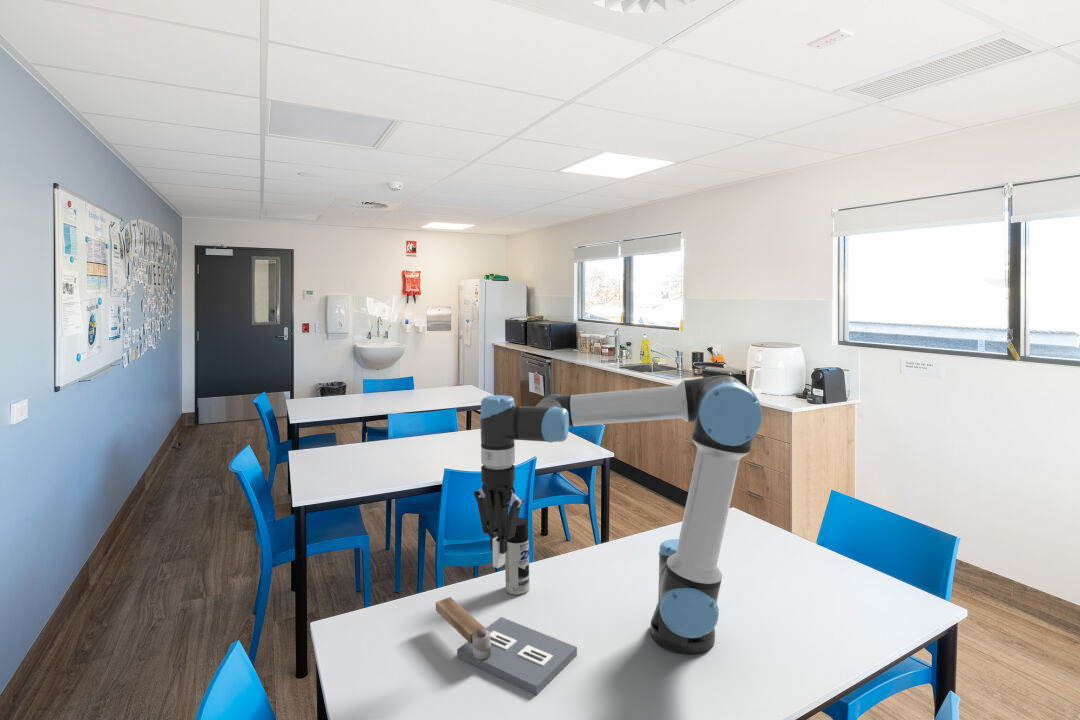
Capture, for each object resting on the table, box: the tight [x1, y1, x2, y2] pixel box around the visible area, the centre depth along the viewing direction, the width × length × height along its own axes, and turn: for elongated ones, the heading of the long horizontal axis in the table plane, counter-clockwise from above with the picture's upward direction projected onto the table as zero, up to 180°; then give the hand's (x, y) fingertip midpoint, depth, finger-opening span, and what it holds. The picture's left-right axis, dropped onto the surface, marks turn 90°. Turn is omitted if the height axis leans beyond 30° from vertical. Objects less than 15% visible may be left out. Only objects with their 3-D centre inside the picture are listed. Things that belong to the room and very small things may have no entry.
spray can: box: [504, 517, 530, 596], centre depth 159 cm, size 7×7×20 cm
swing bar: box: [435, 596, 491, 659], centre depth 134 cm, size 4×20×5 cm, turn 36°
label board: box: [456, 616, 578, 696], centre depth 130 cm, size 22×16×2 cm
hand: (499, 565), depth 131 cm, fingers closed
